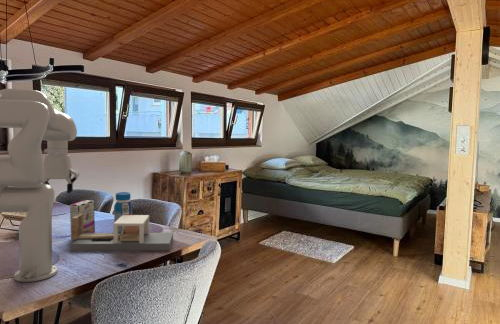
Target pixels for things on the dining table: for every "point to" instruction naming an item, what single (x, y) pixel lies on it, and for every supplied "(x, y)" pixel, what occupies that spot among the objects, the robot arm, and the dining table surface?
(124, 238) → the sled
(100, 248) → the track board
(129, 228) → the terracotta block
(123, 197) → the beverage bottle
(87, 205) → the candy bar box
